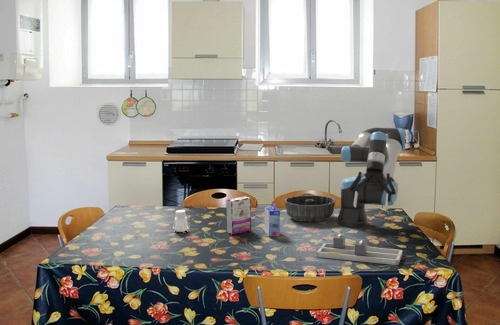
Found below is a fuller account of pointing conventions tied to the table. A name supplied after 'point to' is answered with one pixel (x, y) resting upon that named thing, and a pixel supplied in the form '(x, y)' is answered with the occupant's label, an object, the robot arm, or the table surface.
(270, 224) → the ink cartridge box
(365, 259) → the tray
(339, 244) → the tab
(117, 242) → the table surface
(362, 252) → the tab
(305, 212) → the bundt pan
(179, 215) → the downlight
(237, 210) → the candy bar box
